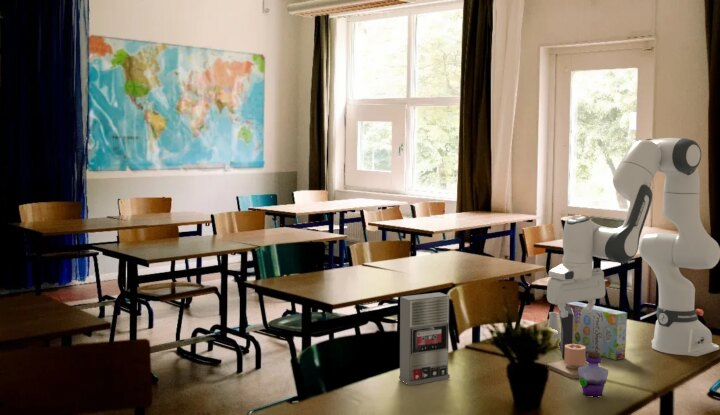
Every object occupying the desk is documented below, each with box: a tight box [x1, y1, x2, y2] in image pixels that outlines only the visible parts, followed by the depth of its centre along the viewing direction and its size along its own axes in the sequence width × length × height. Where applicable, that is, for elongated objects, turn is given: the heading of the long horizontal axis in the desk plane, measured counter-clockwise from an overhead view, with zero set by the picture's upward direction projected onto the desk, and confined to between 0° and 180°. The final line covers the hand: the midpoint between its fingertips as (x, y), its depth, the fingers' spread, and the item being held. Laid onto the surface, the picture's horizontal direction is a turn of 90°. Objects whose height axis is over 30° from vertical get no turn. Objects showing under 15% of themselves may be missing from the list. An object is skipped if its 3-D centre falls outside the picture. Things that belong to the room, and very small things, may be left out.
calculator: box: [559, 306, 575, 360], centre depth 250 cm, size 11×4×15 cm, turn 168°
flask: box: [547, 311, 561, 344], centre depth 266 cm, size 7×7×10 cm
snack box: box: [566, 301, 628, 361], centre depth 254 cm, size 21×6×15 cm, turn 35°
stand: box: [545, 347, 588, 380], centre depth 234 cm, size 12×12×7 cm
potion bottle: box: [578, 351, 609, 398], centre depth 212 cm, size 9×9×12 cm
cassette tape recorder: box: [398, 292, 451, 386], centre depth 223 cm, size 14×6×25 cm, turn 117°
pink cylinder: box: [563, 344, 586, 366], centre depth 233 cm, size 6×6×5 cm
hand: (576, 315), depth 232 cm, fingers open, 8 cm apart
